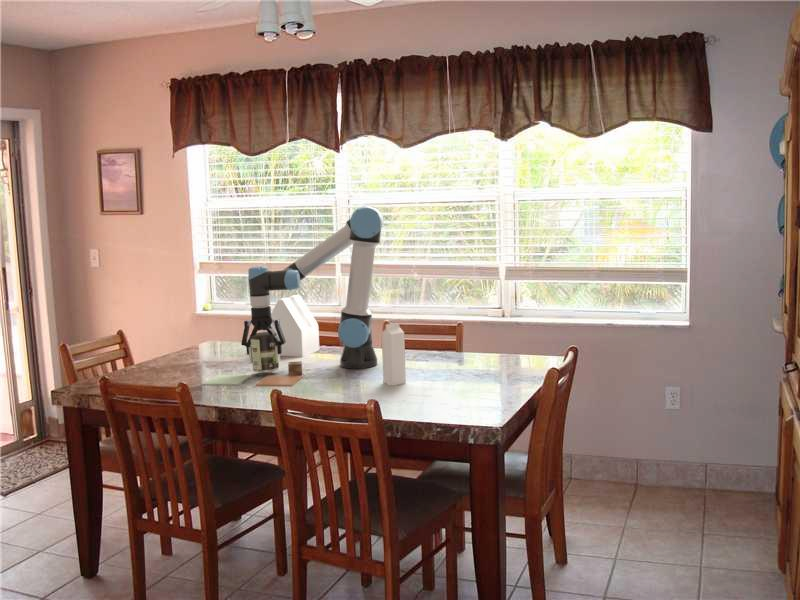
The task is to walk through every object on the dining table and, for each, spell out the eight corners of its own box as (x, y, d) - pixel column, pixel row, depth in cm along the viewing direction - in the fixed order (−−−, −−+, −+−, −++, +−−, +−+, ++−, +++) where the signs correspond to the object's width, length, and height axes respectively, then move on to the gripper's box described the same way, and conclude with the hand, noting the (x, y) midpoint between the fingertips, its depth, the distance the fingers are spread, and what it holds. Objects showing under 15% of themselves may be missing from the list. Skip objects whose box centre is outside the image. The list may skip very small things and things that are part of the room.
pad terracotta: (303, 377, 301) (303, 375, 300) (292, 386, 287) (292, 384, 287) (268, 376, 303) (268, 375, 303) (255, 385, 289) (255, 384, 289)
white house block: (319, 350, 353) (316, 295, 350) (302, 357, 339) (299, 299, 336) (282, 348, 360) (279, 294, 357) (264, 354, 346) (261, 298, 343)
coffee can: (283, 366, 311) (280, 331, 309) (273, 372, 301) (270, 336, 299) (258, 366, 313) (255, 332, 312) (248, 372, 304) (245, 336, 302)
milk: (405, 383, 286) (404, 323, 283) (392, 385, 282) (391, 325, 279) (396, 380, 291) (394, 321, 288) (382, 382, 287) (381, 323, 284)
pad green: (251, 376, 304) (250, 375, 304) (237, 385, 290) (237, 383, 290) (216, 376, 306) (216, 374, 306) (202, 385, 293) (202, 383, 293)
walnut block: (302, 373, 307) (301, 361, 306) (301, 376, 302) (301, 363, 301) (289, 374, 306) (288, 361, 306) (288, 377, 302) (288, 364, 301)
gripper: (291, 304, 305) (295, 359, 308) (236, 305, 309) (241, 360, 312) (285, 306, 298) (289, 364, 301) (229, 308, 302) (234, 365, 305)
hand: (265, 362), depth 307 cm, fingers closed on coffee can, 10 cm apart
